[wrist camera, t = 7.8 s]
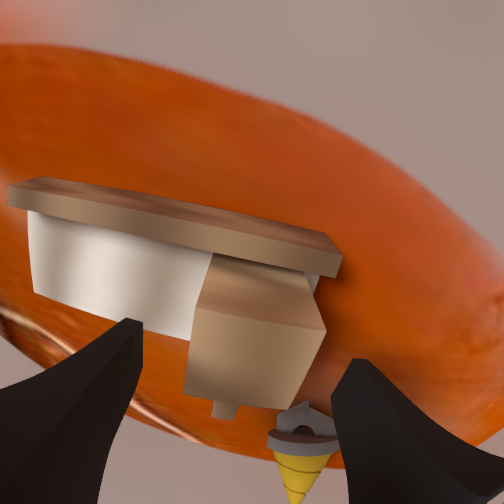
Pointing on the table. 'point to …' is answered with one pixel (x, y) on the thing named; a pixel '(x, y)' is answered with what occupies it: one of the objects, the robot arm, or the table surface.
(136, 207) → the board
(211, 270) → the block
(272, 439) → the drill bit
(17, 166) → the table surface
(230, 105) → the table surface
